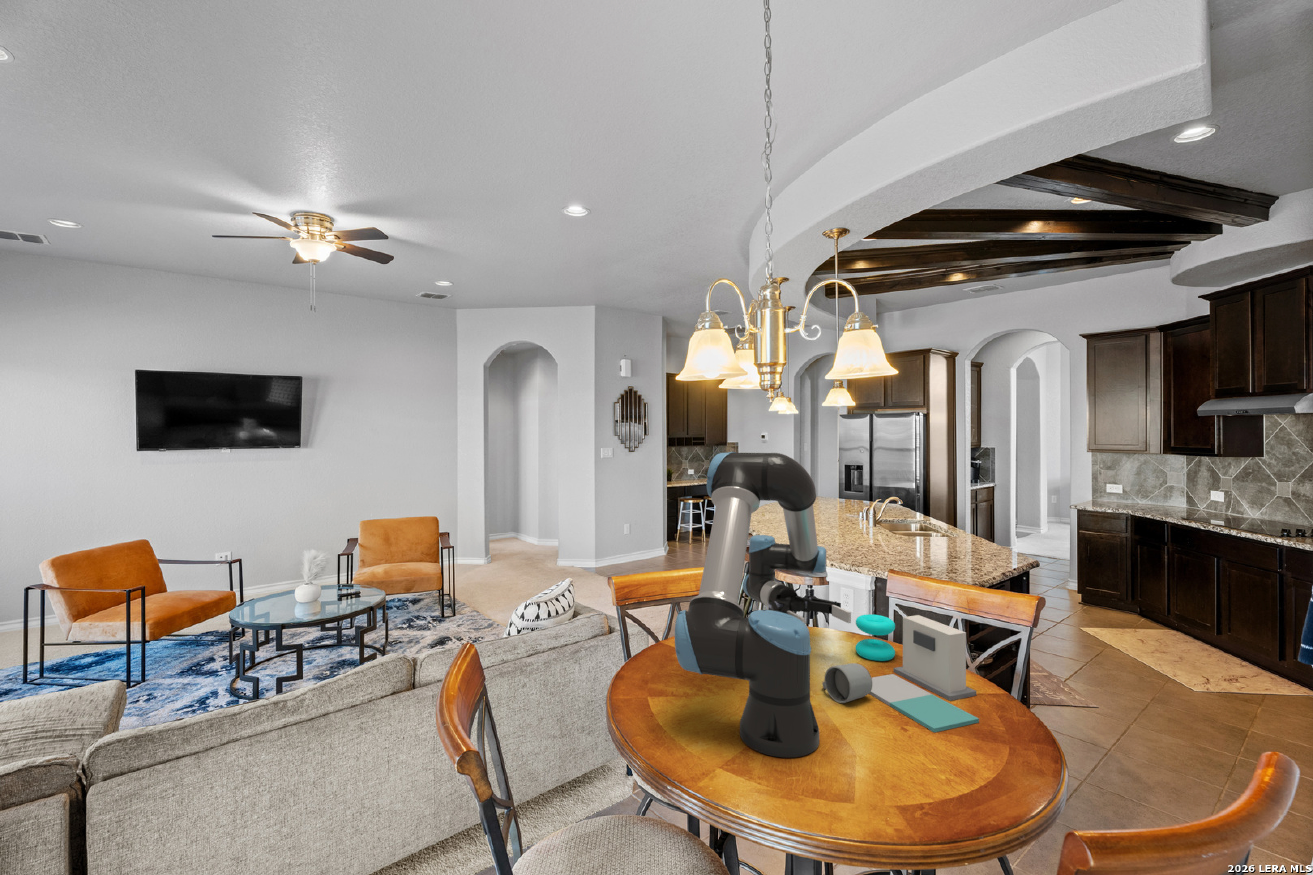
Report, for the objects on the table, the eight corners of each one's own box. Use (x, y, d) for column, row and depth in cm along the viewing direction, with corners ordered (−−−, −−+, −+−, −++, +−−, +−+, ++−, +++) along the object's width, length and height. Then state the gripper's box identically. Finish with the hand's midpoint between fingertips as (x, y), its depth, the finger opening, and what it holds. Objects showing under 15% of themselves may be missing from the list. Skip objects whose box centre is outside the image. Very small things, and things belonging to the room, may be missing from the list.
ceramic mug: (875, 700, 128) (875, 665, 128) (850, 708, 124) (850, 672, 124) (837, 683, 137) (837, 651, 137) (813, 691, 133) (813, 657, 133)
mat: (934, 732, 114) (934, 728, 114) (852, 684, 136) (853, 680, 136) (978, 722, 118) (978, 718, 118) (893, 677, 140) (892, 673, 140)
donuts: (903, 621, 152) (874, 626, 148) (903, 659, 152) (874, 665, 148) (875, 611, 161) (847, 615, 157) (875, 646, 161) (847, 651, 157)
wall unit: (949, 700, 128) (949, 637, 128) (893, 671, 144) (893, 615, 144) (976, 695, 131) (976, 633, 131) (918, 667, 147) (918, 612, 147)
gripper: (816, 606, 166) (867, 629, 146) (740, 615, 157) (783, 642, 137) (816, 580, 166) (868, 600, 146) (740, 588, 157) (783, 610, 137)
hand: (827, 620), depth 141 cm, fingers open, 13 cm apart
